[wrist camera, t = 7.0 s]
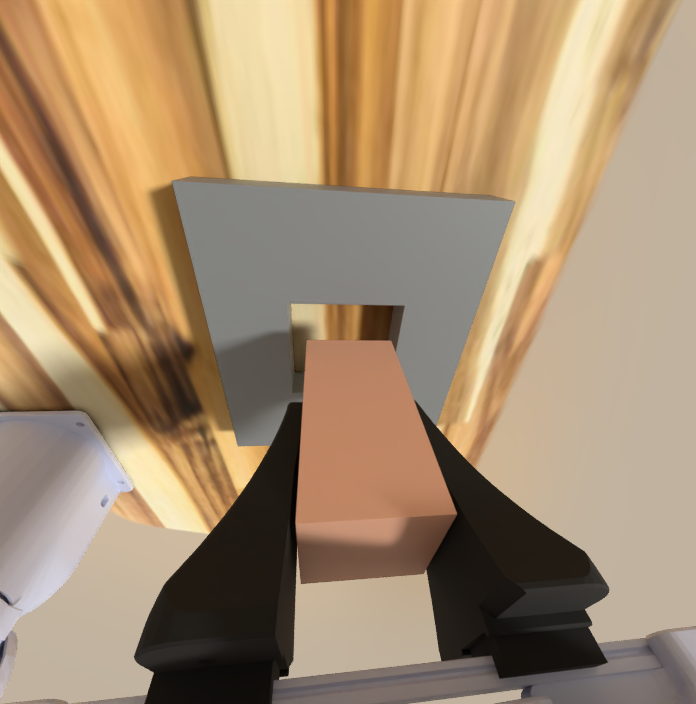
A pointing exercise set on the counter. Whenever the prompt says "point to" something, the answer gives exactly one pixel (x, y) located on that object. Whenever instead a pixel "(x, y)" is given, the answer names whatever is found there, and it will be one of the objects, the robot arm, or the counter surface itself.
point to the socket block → (333, 279)
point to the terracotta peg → (365, 468)
